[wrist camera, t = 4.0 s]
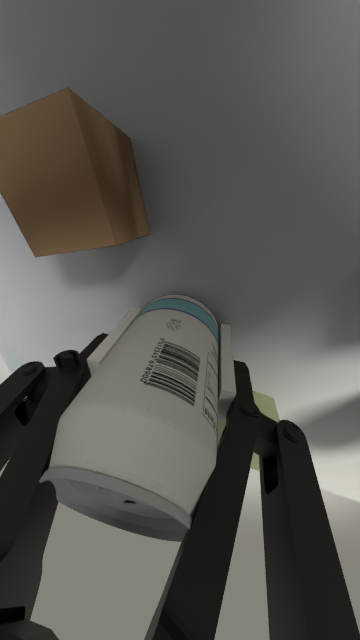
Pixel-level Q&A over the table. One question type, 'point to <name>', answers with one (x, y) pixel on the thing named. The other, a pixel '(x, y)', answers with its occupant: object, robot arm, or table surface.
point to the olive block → (266, 408)
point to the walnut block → (69, 176)
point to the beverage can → (145, 425)
